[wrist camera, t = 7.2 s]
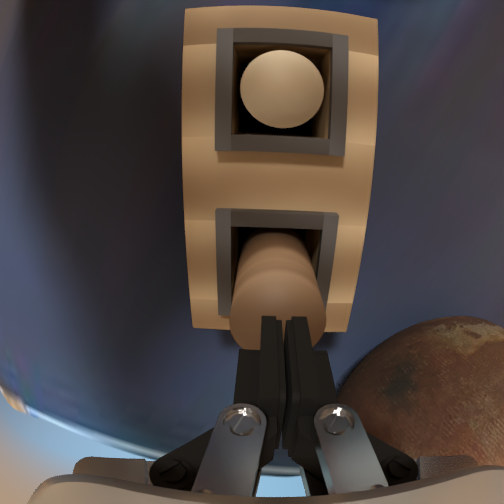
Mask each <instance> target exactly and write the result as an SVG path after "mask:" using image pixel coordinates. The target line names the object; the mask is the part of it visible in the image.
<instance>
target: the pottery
mask: <svg viewBox="0 0 504 504" xmlns="http://www.w3.org/2000/svg"><path fill="white" fill-rule="evenodd" d="M337 400H338V404H343V405H346V406H348V407H351V408H352V409H353V410H354V411H356V413H357V414H358V416H359V418H360V420H361V422H362V425H363V427H364V429H365V431H366V432H368V433H369V434H371V435H373V436H375V437H376V438H378V439H380V440H382V441H383V442H385V443H387V444H389V445H390V446H392V447H394V448H396V449H398V450H399V451H401V452H403V453H405V454H407V455H409V456H410V457H411V458H413V459H418V458H419V457H429V456H454V455H469V456H471V457H473V458H474V459H475V460H476V461H477V463H478V466H480V465H499V466H504V328H502V327H500V326H498V325H496V324H494V323H492V322H489V321H487V320H484V319H480V318H475V317H469V316H455V317H443V318H437V319H432V320H428V321H424V322H421V323H418V324H416V325H413V326H411V327H408V328H406V329H404V330H402V331H400V332H398V333H396V334H394V335H393V336H391V337H390V338H388V339H387V340H385V341H384V342H382V343H381V344H380V345H378V346H377V347H376V348H375V349H374V350H372V351H371V352H370V353H369V354H368V355H366V356H365V358H364V359H363V360H362V361H361V362H360V363H359V364H358V366H357V367H356V368H355V369H354V371H353V372H352V374H351V375H350V376H349V378H348V379H347V381H346V382H345V384H344V385H343V387H342V389H341V391H340V393H339V395H338V396H337Z"/></svg>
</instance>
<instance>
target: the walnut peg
mask: <svg viewBox="0 0 504 504" xmlns="http://www.w3.org/2000/svg"><path fill="white" fill-rule="evenodd" d="M262 315H263V316H276V320H282V330H283V344H284V334H285V324H286V320H291V318H292V316H304V317H307V320H308V326H309V331H310V337H311V342H312V347H313V346H314V345H315V344H316V343H317V342H318V341H319V340H320V338H321V337H322V335H323V333H324V330H325V327H326V312H325V308H324V304H323V301H322V297H321V294H320V291H319V287H318V284H317V280H316V277H315V274H314V270H313V267H312V264H311V260H310V257H309V254H308V251H307V247H306V245H305V242H304V241H303V239H302V238H301V237H300V236H299V235H298V234H297V233H296V232H295V231H293V230H292V229H290V228H267V227H262V228H259V229H257V230H255V231H254V232H253V233H251V234H250V235H249V236H248V237H247V239H246V240H245V241H244V243H243V245H242V248H241V253H240V258H239V264H238V270H237V276H236V282H235V288H234V294H233V300H232V306H231V312H230V318H229V325H230V331H231V334H232V336H233V338H234V339H235V341H236V342H237V343H238V345H239V346H240V347H242V348H243V349H248V350H260V338H261V317H262Z"/></svg>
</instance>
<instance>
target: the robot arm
mask: <svg viewBox="0 0 504 504" xmlns="http://www.w3.org/2000/svg"><path fill="white" fill-rule="evenodd" d="M281 429H282V446H283V449H288V457H292V460H293V461H295V462H296V463H297V464H299V465H300V473H301V477H302V481H303V485H304V489H305V493H306V497H256V493H257V488H258V483H259V479H260V475H261V470H262V467H264V466H265V465H266V464H268V463H269V462H270V461H272V460H273V456H274V449H278V447H279V441H280V435H281ZM27 504H504V466H499V465H480V466H478V463H477V461H476V460H475V459H474V458H473V457H471V456H469V455H454V456H429V457H419V458H418V459H413V458H411V457H410V456H409V455H407V454H405V453H403V452H401V451H399V450H398V449H396V448H394V447H392V446H390V445H389V444H387V443H385V442H383V441H382V440H380V439H378V438H376V437H375V436H373V435H371V434H369V433H368V432H366V431H365V429H364V427H363V425H362V422H361V420H360V418H359V416H358V414H357V413H356V411H354V410H353V409H352V408H351V407H348V406H346V405H343V404H338V400H337V395H336V390H335V385H334V381H333V376H332V371H331V367H330V362H329V358H328V354H327V351H313V348H312V342H311V337H310V331H309V326H308V320H307V317H304V316H292V318H291V320H286V324H285V334H284V344H283V330H282V320H276V316H263V315H262V317H261V338H260V350H248V349H240V350H239V357H238V366H237V375H236V384H235V393H234V403H233V405H231V406H228V407H226V408H225V409H224V410H223V411H221V413H220V414H219V416H218V418H217V421H216V424H215V427H214V428H212V429H210V430H209V431H207V432H205V433H204V434H202V435H200V436H199V437H197V438H195V439H193V440H192V441H190V442H188V443H186V444H185V445H183V446H181V447H179V448H177V449H175V450H174V451H172V452H170V453H168V454H166V455H164V456H162V457H160V458H159V459H158V460H156V461H146V460H145V459H125V458H124V459H123V458H103V457H85V458H83V459H81V460H79V461H78V462H77V463H76V464H75V467H74V470H73V474H68V475H61V476H55V477H51V478H49V479H47V480H45V481H44V482H43V483H42V484H40V485H39V487H38V488H37V489H36V490H35V492H34V493H33V495H32V496H31V498H30V500H29V502H28V503H27Z"/></svg>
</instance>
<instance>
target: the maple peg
mask: <svg viewBox="0 0 504 504" xmlns="http://www.w3.org/2000/svg"><path fill="white" fill-rule="evenodd" d="M240 92H241V97H242V100H243V103H244V105H245V107H246V108H247V110H248V111H249V113H250V114H251V115H252V116H253V117H254V118H256V119H257V120H258V121H260V122H262V123H264V124H266V125H268V126H271V127H276V128H291V127H295V126H299V125H301V124H303V123H305V122H307V121H308V120H309V119H311V118H312V117H313V116H314V115H315V114H316V112H317V111H318V109H319V108H320V106H321V103H322V101H323V96H324V85H323V80H322V77H321V75H320V73H319V71H318V70H317V68H316V67H315V66H314V64H313V63H312V62H311V61H309V60H308V59H307V58H305V57H304V56H302V55H300V54H298V53H295V52H291V51H285V50H276V51H270V52H267V53H264V54H262V55H260V56H258V57H257V58H255V59H254V60H253V61H252V62H251V63H250V64H249V65H248V66H247V68H246V69H245V71H244V73H243V76H242V79H241V85H240Z"/></svg>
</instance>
